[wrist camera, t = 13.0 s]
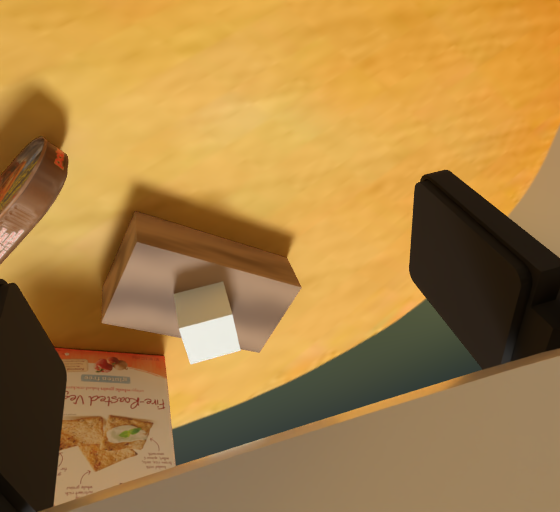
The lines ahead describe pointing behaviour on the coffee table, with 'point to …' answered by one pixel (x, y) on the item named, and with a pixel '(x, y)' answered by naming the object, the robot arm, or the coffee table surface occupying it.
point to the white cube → (206, 322)
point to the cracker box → (112, 421)
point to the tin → (29, 191)
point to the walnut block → (194, 280)
